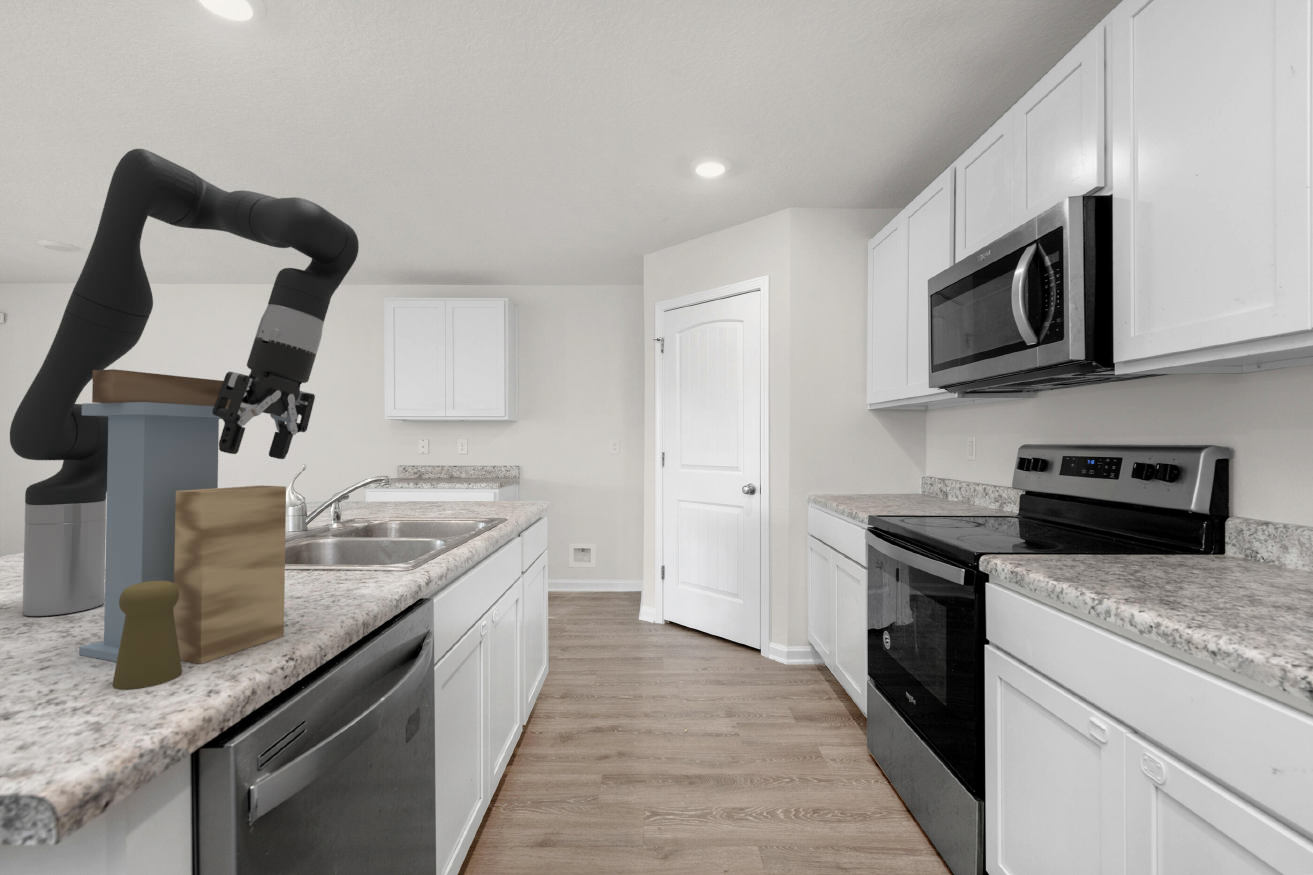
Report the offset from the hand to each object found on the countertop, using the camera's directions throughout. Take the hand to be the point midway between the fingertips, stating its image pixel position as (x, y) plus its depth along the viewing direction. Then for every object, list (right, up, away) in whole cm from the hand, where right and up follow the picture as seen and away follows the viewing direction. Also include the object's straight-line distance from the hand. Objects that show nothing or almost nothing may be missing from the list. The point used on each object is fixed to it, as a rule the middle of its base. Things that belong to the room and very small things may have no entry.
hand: (253, 455), depth 80 cm
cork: (-2, -25, -14) cm, 29 cm away
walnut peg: (-9, +7, +1) cm, 11 cm away
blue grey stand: (-10, -25, -3) cm, 27 cm away
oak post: (-1, -25, -3) cm, 26 cm away
